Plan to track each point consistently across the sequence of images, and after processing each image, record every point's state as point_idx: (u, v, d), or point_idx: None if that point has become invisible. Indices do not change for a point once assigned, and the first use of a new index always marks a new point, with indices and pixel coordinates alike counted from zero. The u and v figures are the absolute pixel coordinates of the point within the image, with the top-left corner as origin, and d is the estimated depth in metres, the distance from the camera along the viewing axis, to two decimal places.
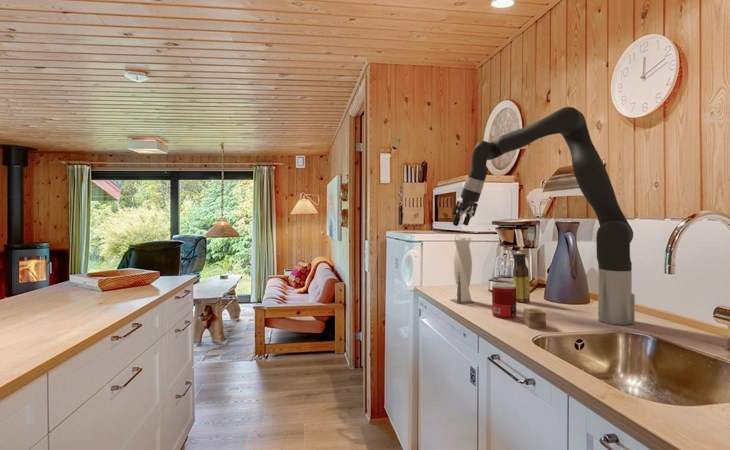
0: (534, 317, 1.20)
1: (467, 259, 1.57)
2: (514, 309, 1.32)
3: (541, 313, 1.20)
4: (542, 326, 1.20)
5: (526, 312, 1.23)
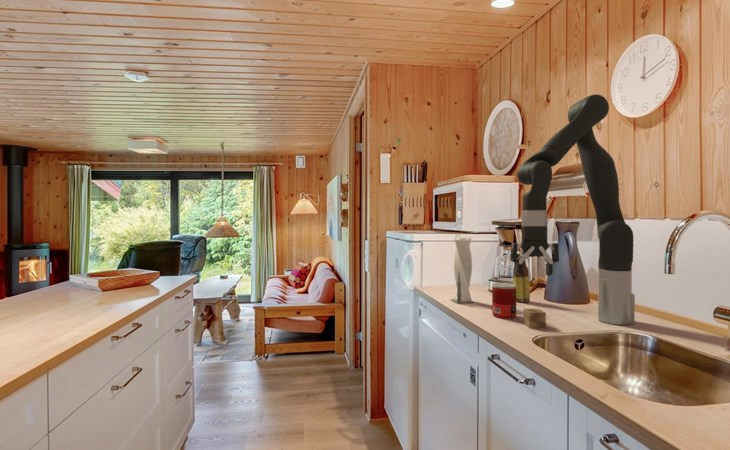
0: (534, 317, 1.20)
1: (467, 259, 1.57)
2: (514, 309, 1.32)
3: (541, 313, 1.20)
4: (542, 326, 1.20)
5: (526, 312, 1.23)
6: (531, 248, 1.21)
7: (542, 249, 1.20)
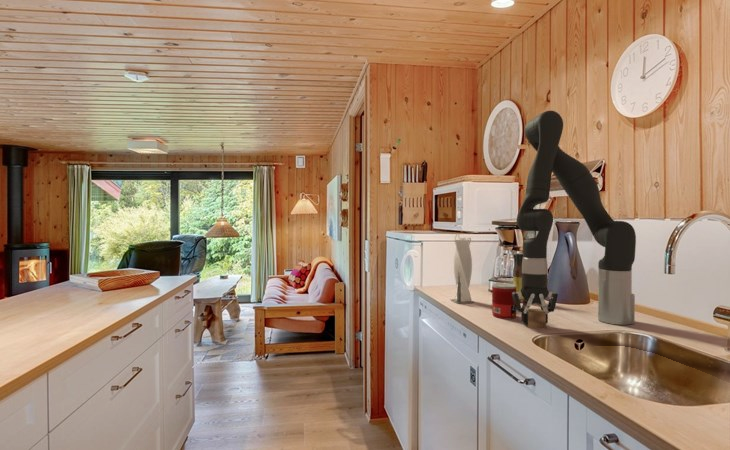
0: (534, 317, 1.20)
1: (467, 259, 1.57)
2: (514, 309, 1.32)
3: (541, 313, 1.20)
4: (542, 326, 1.20)
5: None
6: (531, 296, 1.21)
7: (542, 297, 1.21)
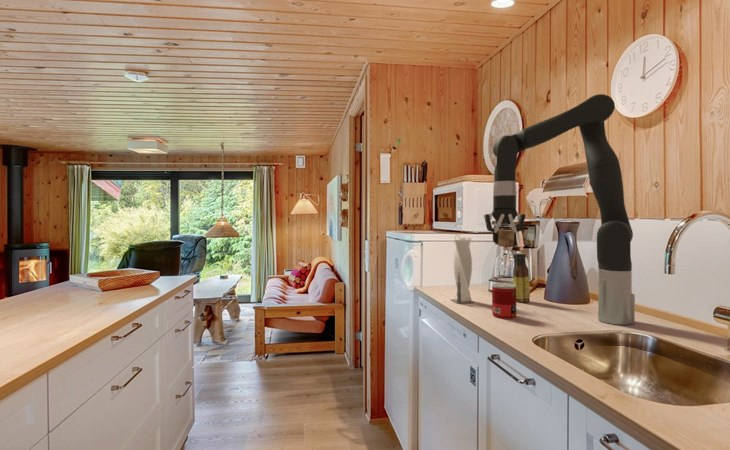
0: (503, 235, 1.32)
1: (467, 259, 1.57)
2: (514, 309, 1.32)
3: (510, 231, 1.32)
4: (510, 243, 1.32)
5: (497, 232, 1.35)
6: (501, 216, 1.32)
7: (510, 217, 1.32)
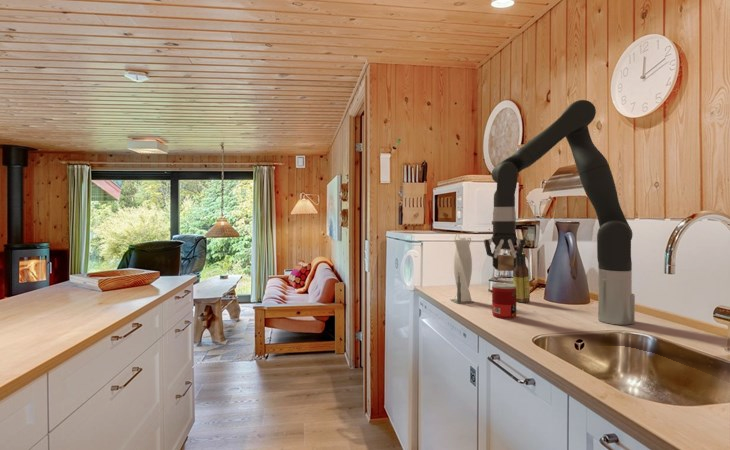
0: (503, 260, 1.33)
1: (467, 259, 1.57)
2: (514, 309, 1.32)
3: (509, 257, 1.32)
4: (510, 268, 1.32)
5: None
6: (501, 241, 1.33)
7: (510, 242, 1.33)
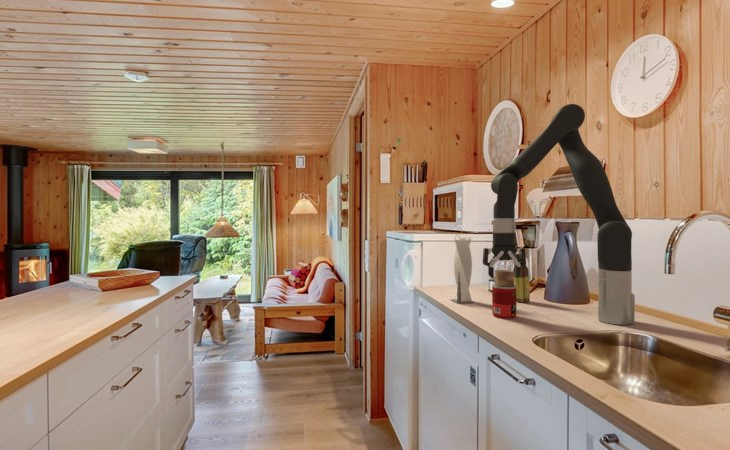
0: (503, 276, 1.33)
1: (467, 259, 1.57)
2: (514, 309, 1.32)
3: (510, 272, 1.33)
4: (511, 284, 1.33)
5: (497, 272, 1.35)
6: (501, 252, 1.33)
7: (510, 253, 1.33)
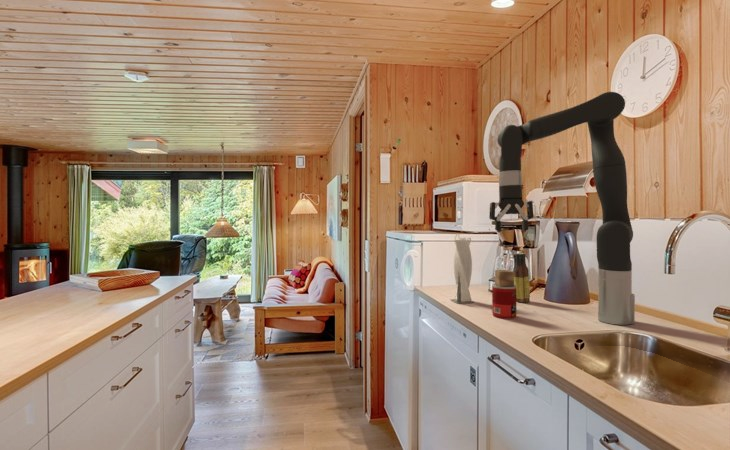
0: (503, 276, 1.33)
1: (467, 259, 1.57)
2: (514, 309, 1.32)
3: (510, 272, 1.33)
4: (510, 284, 1.33)
5: (497, 272, 1.35)
6: (508, 206, 1.31)
7: (518, 206, 1.31)
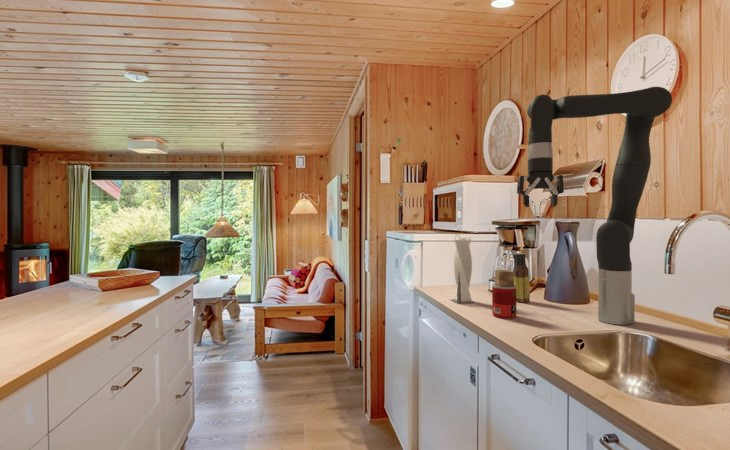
0: (503, 276, 1.33)
1: (467, 259, 1.57)
2: (514, 309, 1.32)
3: (510, 272, 1.33)
4: (510, 284, 1.33)
5: (497, 272, 1.35)
6: (537, 179, 1.26)
7: (547, 180, 1.26)
